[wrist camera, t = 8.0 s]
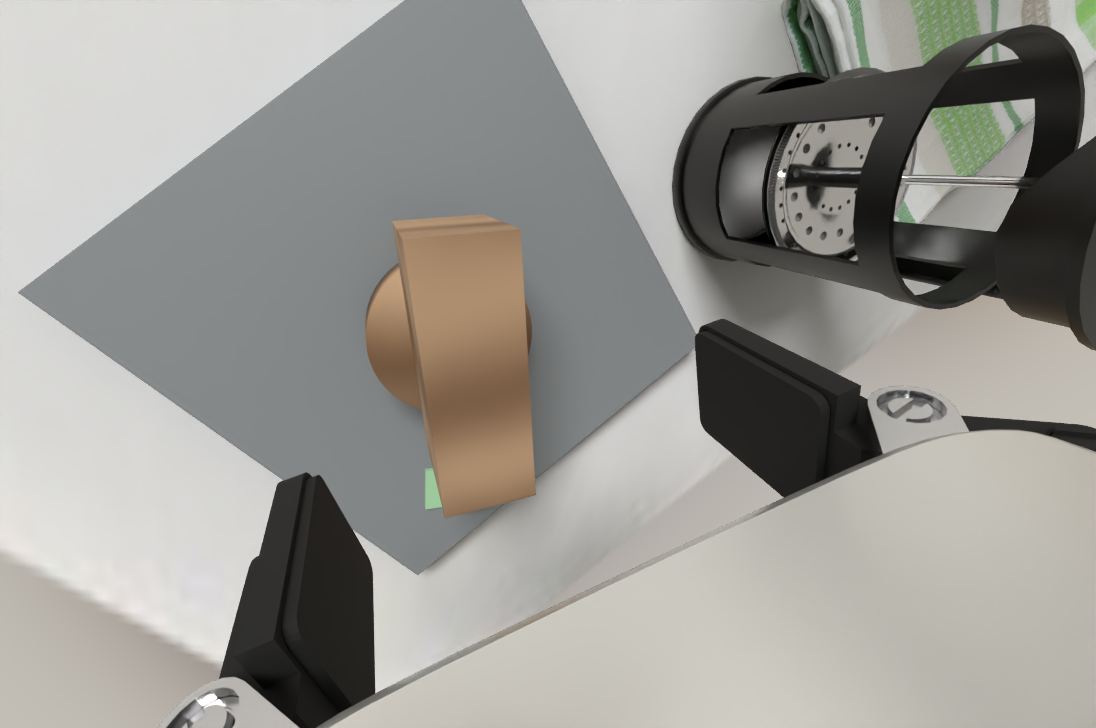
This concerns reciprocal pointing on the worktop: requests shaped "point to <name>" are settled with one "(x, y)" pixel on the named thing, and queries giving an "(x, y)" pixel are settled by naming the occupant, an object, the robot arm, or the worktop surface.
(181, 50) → the worktop surface
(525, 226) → the dial plate
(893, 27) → the dish towel
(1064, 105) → the french press
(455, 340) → the knob
